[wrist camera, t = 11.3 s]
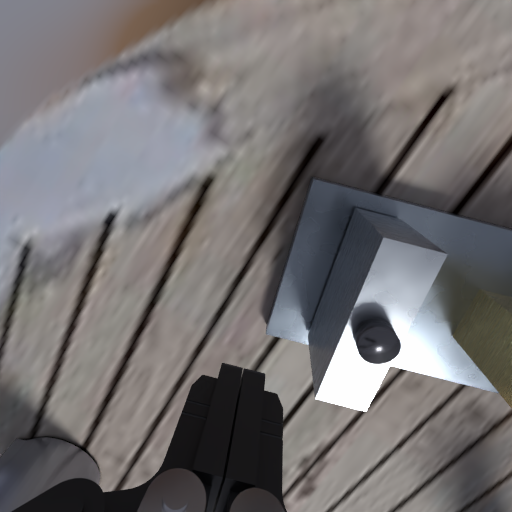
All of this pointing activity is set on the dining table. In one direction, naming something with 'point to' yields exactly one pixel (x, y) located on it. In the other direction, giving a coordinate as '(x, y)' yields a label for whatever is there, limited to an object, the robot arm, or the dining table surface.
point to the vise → (437, 299)
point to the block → (489, 339)
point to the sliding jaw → (369, 306)
